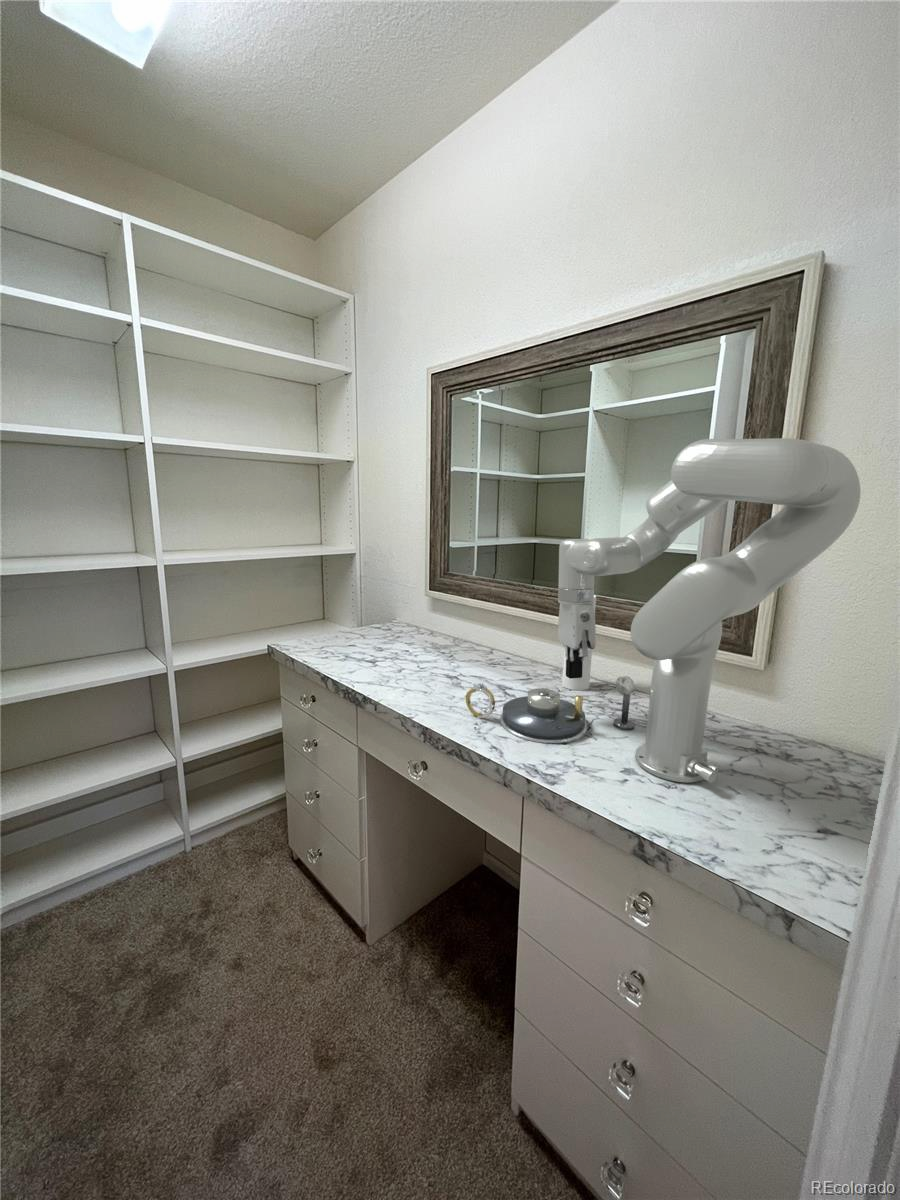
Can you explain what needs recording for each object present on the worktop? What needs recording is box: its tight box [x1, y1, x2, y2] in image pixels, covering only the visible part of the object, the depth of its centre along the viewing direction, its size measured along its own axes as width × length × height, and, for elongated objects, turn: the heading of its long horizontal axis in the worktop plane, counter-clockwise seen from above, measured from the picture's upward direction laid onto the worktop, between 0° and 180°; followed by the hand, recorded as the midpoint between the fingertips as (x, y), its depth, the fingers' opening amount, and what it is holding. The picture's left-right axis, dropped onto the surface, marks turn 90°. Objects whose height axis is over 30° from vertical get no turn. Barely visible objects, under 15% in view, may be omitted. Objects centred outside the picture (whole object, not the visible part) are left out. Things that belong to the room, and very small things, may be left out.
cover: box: [527, 687, 561, 718], centre depth 104 cm, size 7×7×4 cm
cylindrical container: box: [561, 594, 597, 691], centre depth 126 cm, size 7×7×25 cm
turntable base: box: [499, 712, 588, 745], centre depth 105 cm, size 19×19×1 cm
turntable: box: [502, 694, 586, 739], centre depth 104 cm, size 18×18×7 cm
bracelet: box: [465, 683, 496, 719], centre depth 106 cm, size 7×3×8 cm, turn 52°
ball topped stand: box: [613, 675, 636, 731], centre depth 103 cm, size 4×4×12 cm
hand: (573, 676), depth 105 cm, fingers closed
